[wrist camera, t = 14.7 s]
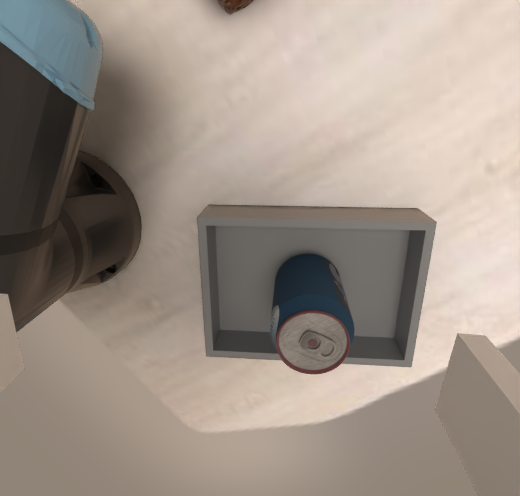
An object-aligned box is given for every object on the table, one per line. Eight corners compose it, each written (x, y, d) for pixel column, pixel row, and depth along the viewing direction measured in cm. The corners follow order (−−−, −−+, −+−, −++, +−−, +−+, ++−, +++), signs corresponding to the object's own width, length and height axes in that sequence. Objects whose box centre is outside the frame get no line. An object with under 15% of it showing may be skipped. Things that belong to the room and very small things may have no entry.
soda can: (264, 290, 40) (253, 359, 29) (293, 238, 37) (293, 290, 26) (319, 316, 40) (330, 393, 29) (351, 266, 38) (376, 329, 27)
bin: (215, 330, 43) (206, 356, 39) (208, 204, 38) (197, 217, 33) (398, 339, 42) (411, 367, 37) (418, 208, 36) (436, 222, 32)
